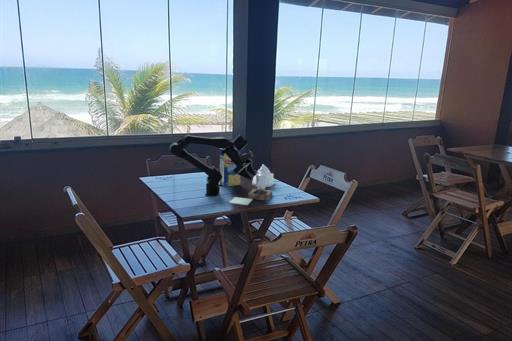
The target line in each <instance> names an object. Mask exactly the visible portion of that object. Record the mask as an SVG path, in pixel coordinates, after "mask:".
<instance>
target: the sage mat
mask: <svg viewBox="0 0 512 341" xmlns="http://www.w3.org/2000/svg"><path fill="white" fill-rule="evenodd" d="M253 200H254V199H248V197H237V196H234V197H233V198H232V199H231V200H230V201H228V204H231V205H232V204H233V205H240V206H241V205H242V206H249V204H250V203H251V202H252V201H253Z"/></svg>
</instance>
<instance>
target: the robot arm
mask: <svg viewBox="0 0 512 341" xmlns="http://www.w3.org/2000/svg"><path fill="white" fill-rule="evenodd" d="M190 144H197V145H206V146H212V147H215V148H218V149H220V148H221V149H225V150H221V151H222V155H224V154H226V155H227V156H228V157H229V158H230V159H231V162H232V163H234V164H235V165H236V168H235V169H234V173H235V174H237V173H238V172H239V173H238V174H237V175H240V177H243V178H245V179H248V180H250V181H251V180H253V178H252V177H251V175H253V177H254V176H255V175H256V173H257V172H256V171H255V170H254V167H253V159H252V158H254V152H252V151H251V150H246V151H245V153H244V154H242V152H241V153H240V154H239V153H238V152H237V150H241V151H242V150H243V149H244V148H245V147H246V146H247V145H248V144H249V141H247V140H246V139H245V138H244V137H243V136H242V135H241V134H239V135H237V137H235V138H234V139H233V140H230V139H227V138H226V137H224V136H217V137H215V136H214V137H207V136H199V135H198V136H197V135H191V134H185V136H183V137H182V138H180V139H179V140H178V141H177V142H173V143H171V144H170V146H169V150H170V154H172V155H173V156H175V157H177V158H180V159H183V160H185V161H186V162H188V163H189V164H191V165H193V166H194V167H195V168H197V169H199V170H200V171H202V172H203V173H204V174H205V175H207V177H206V178H205V179H206V181H207V182H206V185H205V186H206V187H205V188H206V189H205V190H206V191H205V193H204V195H205V196H209V197H217V196H218V195H220V193H221V192H220V188H221V187H220V186H219V185H220V181H221V180H222V174H221V173H220V168H216V167H215V166H214V165H212V166H209V165H207V164H206V163H204V162H202V161H201V160H199V159H198V158H196V157H195V156H193V155H192V154H191V153H189V152H187V150H186V147H187V146H188V145H190ZM235 148H236V149H237V150H236V149H235ZM250 174H251V175H250Z"/></svg>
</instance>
